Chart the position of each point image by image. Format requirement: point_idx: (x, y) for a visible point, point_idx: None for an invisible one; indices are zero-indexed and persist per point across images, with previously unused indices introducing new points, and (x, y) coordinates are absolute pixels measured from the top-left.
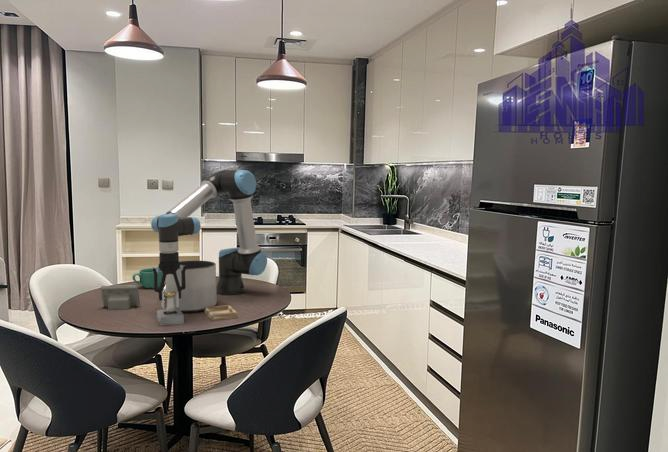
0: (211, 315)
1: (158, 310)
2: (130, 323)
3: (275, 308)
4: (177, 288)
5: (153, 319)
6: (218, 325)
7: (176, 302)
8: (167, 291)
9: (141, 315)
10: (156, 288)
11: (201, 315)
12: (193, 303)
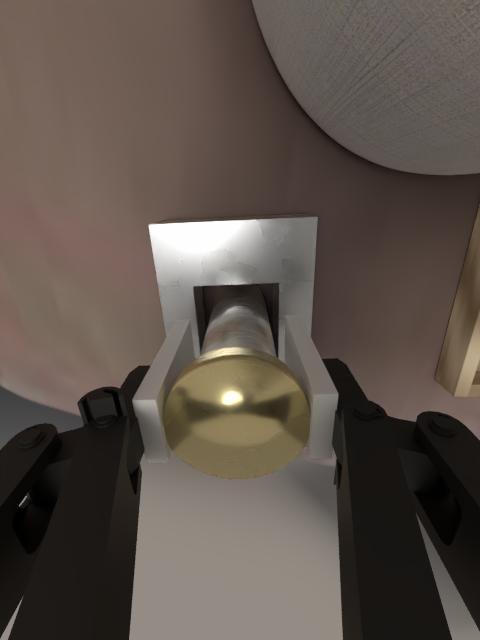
0: (454, 396)
1: (159, 238)
2: (19, 276)
3: None
4: (345, 430)
5: (142, 238)
6: None
7: (289, 364)
8: (210, 382)
9: (44, 85)
10: (47, 523)
11: (434, 255)
12: (461, 172)
